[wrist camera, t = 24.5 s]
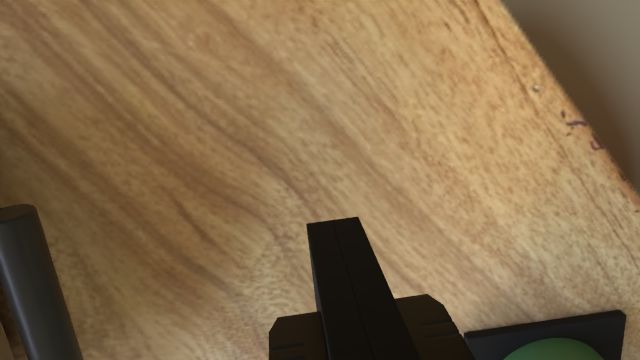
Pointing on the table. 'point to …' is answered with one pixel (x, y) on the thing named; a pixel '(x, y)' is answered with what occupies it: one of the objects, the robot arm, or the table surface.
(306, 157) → the table surface
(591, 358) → the can
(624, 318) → the coaster
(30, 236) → the drawer
